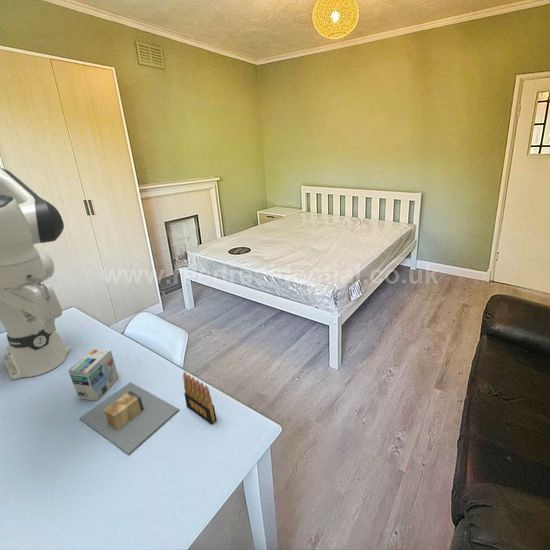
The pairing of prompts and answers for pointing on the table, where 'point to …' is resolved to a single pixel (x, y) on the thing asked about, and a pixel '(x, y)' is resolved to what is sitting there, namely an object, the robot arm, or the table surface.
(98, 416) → the slate mat
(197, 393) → the ammunition clip
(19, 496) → the table surface
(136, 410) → the oak block
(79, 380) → the light bulb box
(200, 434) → the table surface
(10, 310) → the robot arm
